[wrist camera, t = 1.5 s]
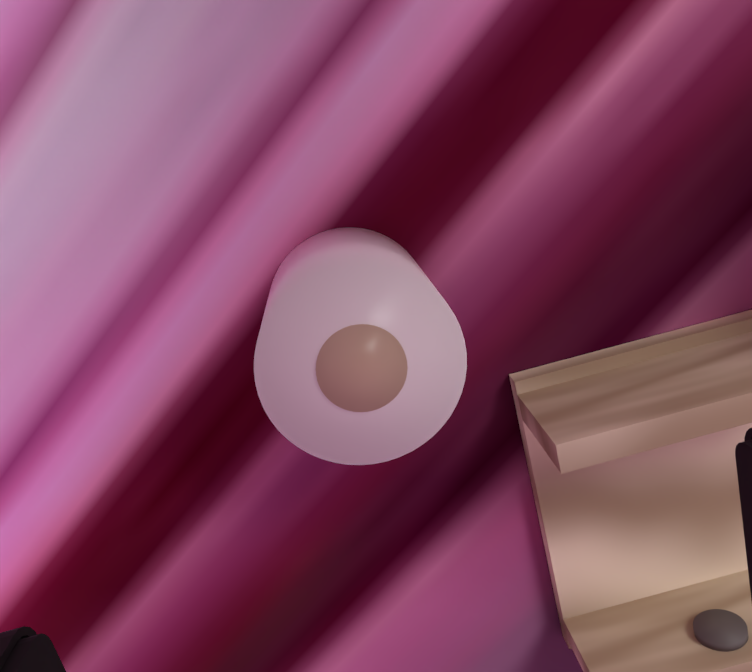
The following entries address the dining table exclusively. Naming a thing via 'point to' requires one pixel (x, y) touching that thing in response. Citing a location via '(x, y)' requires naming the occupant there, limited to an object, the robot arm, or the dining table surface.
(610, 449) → the holder
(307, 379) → the white rounded cylinder
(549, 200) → the dining table surface
